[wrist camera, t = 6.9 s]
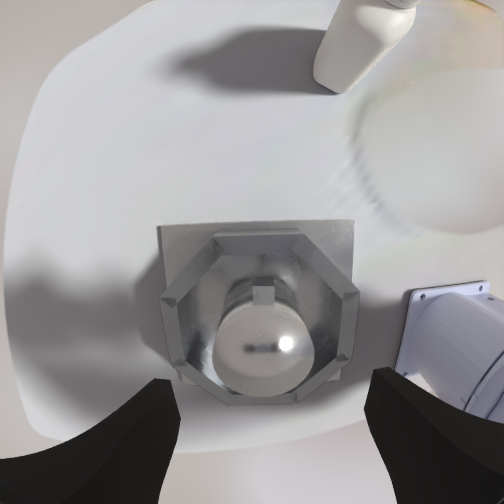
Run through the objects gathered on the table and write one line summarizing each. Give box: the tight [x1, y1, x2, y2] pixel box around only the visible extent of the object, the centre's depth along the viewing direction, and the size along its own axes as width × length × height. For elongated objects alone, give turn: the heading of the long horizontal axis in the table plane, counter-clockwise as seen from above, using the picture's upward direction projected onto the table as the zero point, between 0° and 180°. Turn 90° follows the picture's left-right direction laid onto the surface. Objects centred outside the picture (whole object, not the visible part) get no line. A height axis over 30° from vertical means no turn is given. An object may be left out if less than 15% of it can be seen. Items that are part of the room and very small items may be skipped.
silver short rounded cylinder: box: [212, 276, 314, 397], centre depth 15 cm, size 6×5×6 cm
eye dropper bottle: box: [313, 0, 421, 94], centre depth 8 cm, size 4×6×12 cm
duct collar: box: [159, 220, 360, 405], centre depth 16 cm, size 12×12×3 cm
